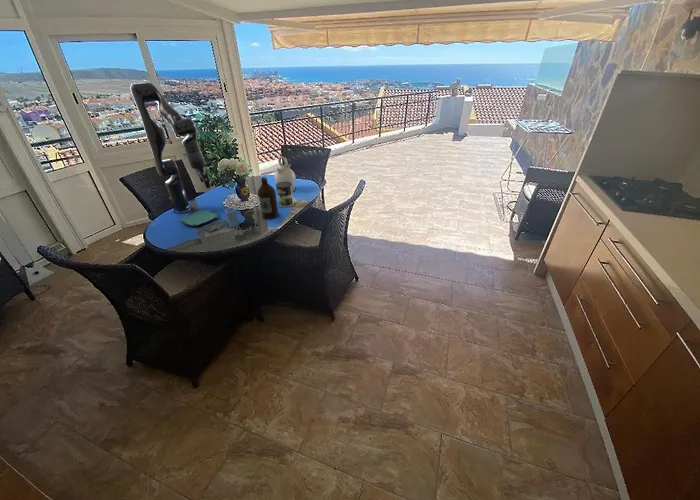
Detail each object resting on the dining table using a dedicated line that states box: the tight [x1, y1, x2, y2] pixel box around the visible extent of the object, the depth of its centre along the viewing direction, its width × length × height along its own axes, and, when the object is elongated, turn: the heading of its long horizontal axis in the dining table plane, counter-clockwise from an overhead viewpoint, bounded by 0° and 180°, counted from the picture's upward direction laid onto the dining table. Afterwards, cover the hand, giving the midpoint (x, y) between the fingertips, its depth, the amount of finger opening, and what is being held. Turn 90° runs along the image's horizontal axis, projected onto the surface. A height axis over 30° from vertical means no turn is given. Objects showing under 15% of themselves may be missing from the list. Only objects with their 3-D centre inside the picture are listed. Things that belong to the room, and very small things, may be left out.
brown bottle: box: [257, 176, 279, 220], centre depth 179 cm, size 11×11×25 cm
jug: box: [274, 155, 297, 192], centre depth 216 cm, size 15×16×25 cm
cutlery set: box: [180, 209, 228, 233], centre depth 180 cm, size 20×30×2 cm, turn 53°
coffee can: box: [275, 182, 295, 208], centre depth 197 cm, size 10×10×14 cm
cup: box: [224, 207, 240, 228], centre depth 174 cm, size 6×6×10 cm
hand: (205, 184), depth 169 cm, fingers open, 8 cm apart
